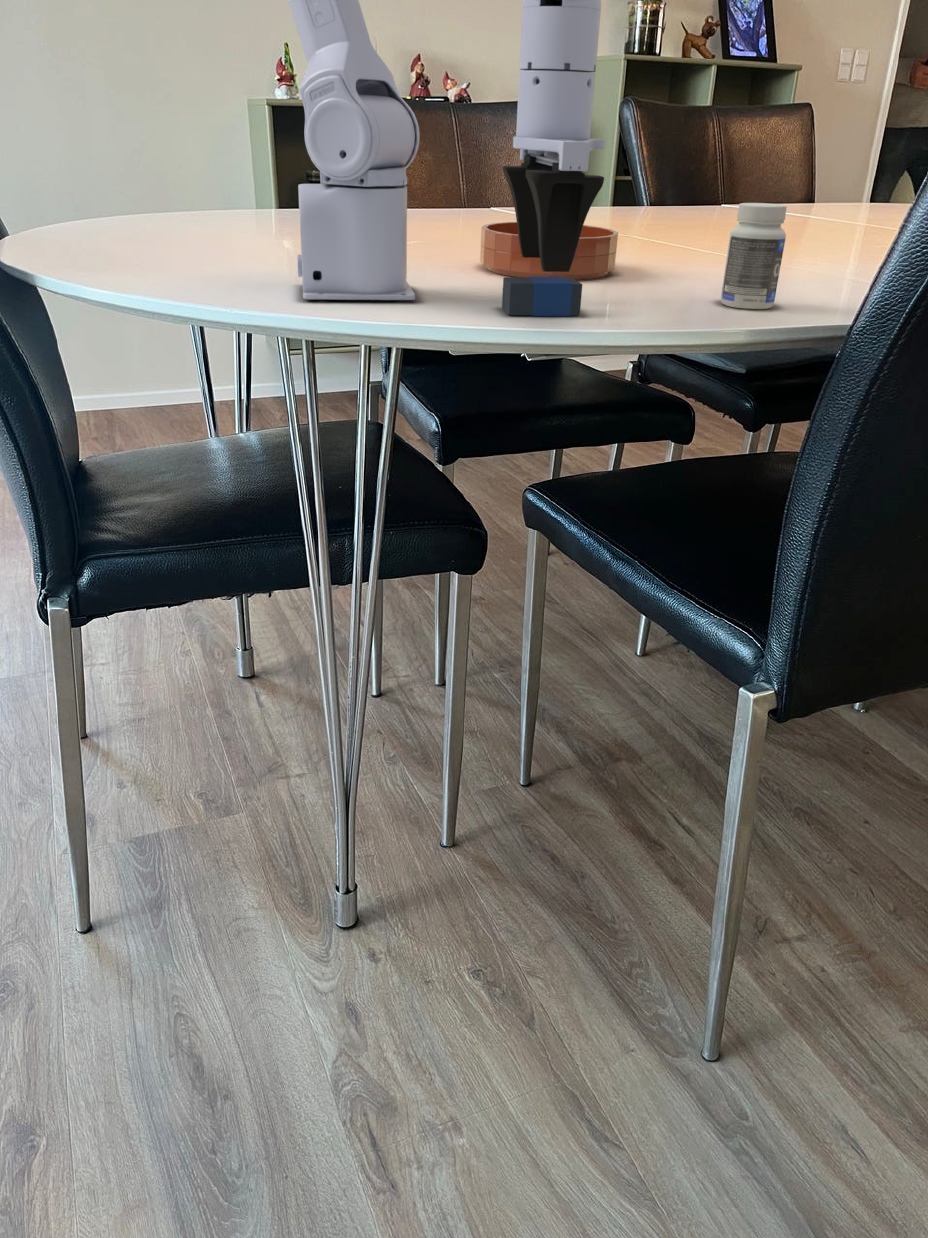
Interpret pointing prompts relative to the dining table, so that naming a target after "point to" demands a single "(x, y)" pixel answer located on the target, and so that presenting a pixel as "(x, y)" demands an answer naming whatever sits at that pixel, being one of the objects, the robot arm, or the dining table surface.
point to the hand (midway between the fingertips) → (544, 263)
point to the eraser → (541, 296)
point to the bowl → (506, 258)
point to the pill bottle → (754, 256)
